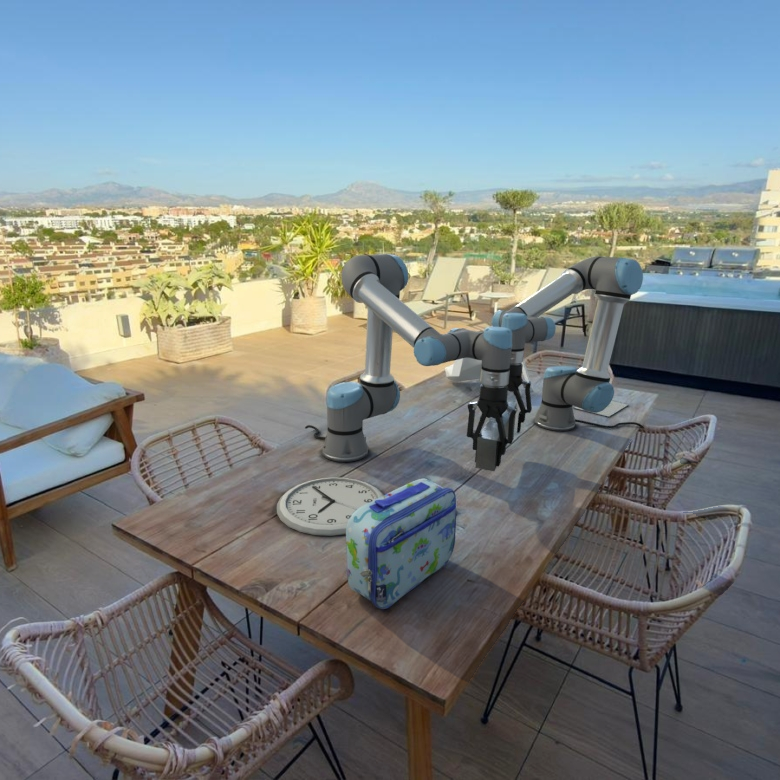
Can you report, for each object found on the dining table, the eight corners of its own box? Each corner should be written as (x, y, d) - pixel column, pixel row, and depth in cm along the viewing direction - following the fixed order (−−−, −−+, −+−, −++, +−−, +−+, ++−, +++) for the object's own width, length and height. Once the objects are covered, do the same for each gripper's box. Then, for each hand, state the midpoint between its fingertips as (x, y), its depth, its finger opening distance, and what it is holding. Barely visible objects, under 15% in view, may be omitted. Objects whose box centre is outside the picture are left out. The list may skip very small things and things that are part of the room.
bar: (498, 427, 177) (500, 401, 174) (514, 429, 175) (516, 403, 172) (475, 468, 146) (477, 437, 144) (494, 471, 145) (496, 440, 142)
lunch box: (375, 622, 100) (376, 527, 94) (339, 595, 108) (338, 505, 101) (459, 565, 118) (465, 481, 112) (424, 545, 125) (427, 465, 119)
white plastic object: (466, 425, 257) (443, 402, 232) (448, 350, 279) (426, 321, 254) (539, 401, 244) (523, 374, 220) (514, 324, 267) (497, 292, 242)
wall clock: (392, 527, 129) (268, 531, 127) (391, 533, 130) (269, 537, 127) (383, 473, 158) (282, 475, 155) (383, 478, 158) (282, 480, 156)
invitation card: (608, 416, 214) (573, 407, 224) (608, 416, 214) (573, 408, 224) (628, 404, 229) (594, 396, 238) (628, 405, 229) (594, 397, 238)
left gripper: (457, 383, 142) (453, 461, 149) (526, 392, 135) (518, 473, 142) (464, 377, 149) (459, 452, 155) (530, 385, 142) (522, 462, 149)
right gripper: (475, 361, 166) (470, 428, 173) (543, 369, 158) (536, 438, 165) (480, 356, 172) (475, 420, 179) (546, 363, 165) (539, 430, 172)
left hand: (487, 462), depth 149 cm, fingers closed on bar, 5 cm apart
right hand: (504, 429), depth 172 cm, fingers open, 8 cm apart
